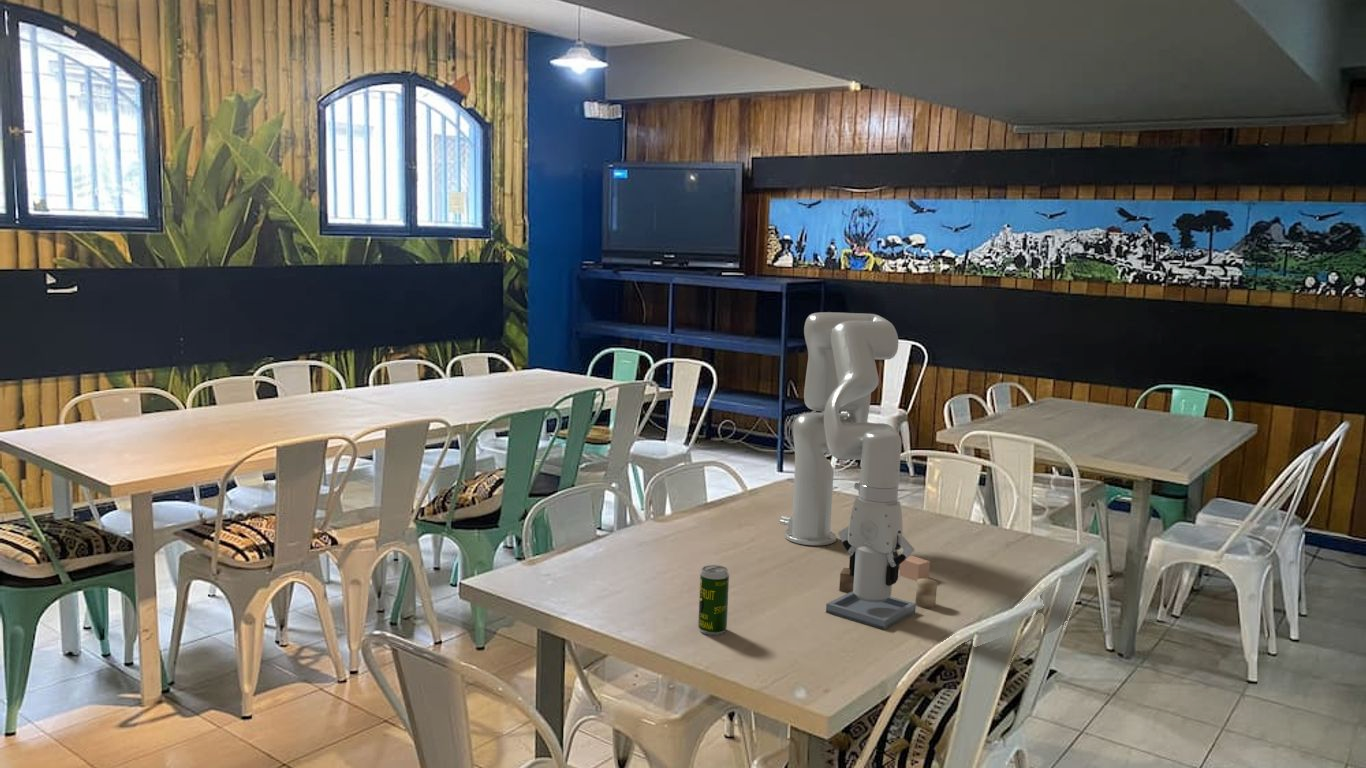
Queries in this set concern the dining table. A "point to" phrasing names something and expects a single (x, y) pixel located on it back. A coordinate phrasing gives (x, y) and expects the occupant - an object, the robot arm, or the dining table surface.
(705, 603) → the green drink can
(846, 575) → the walnut block
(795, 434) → the robot arm
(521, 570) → the dining table surface
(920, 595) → the cork cylinder
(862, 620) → the tray
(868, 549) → the can
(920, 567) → the terracotta block
